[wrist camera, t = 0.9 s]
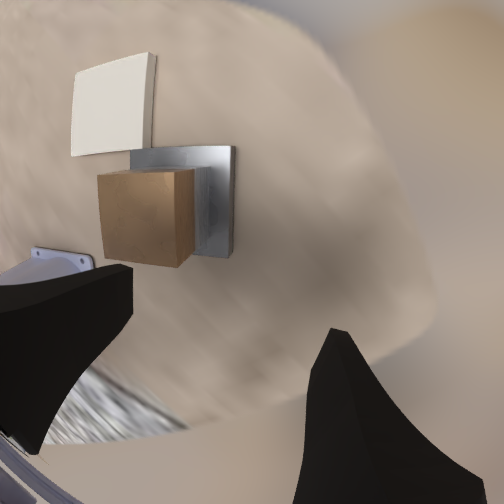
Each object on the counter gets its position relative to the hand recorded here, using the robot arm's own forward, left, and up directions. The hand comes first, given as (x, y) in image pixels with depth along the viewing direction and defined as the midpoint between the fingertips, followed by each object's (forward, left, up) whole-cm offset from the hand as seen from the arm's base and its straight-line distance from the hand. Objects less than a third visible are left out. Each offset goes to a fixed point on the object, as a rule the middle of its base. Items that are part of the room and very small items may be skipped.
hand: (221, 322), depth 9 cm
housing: (-5, +2, -9) cm, 11 cm away
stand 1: (-11, +9, -10) cm, 18 cm away
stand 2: (-5, +2, -10) cm, 12 cm away
